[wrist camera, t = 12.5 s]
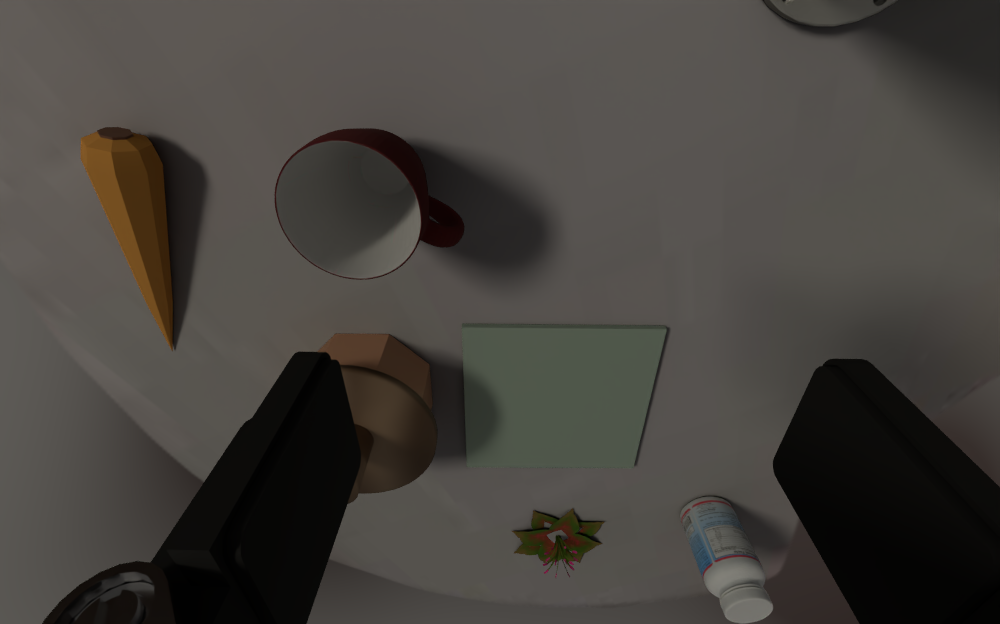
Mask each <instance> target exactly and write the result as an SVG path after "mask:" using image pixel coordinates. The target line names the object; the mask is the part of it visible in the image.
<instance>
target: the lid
mask: <svg viewBox="0 0 1000 624" xmlns="http://www.w3.org/2000/svg"><path fill="white" fill-rule="evenodd" d="M340 367H341V371H342V375H343V379H344V383H345V388H346V392H347V396H348V400H349V404H350V408H351V412H352V417H353V421H354V425H355V429H356V433H357V437H358V442H359V446H360V450H361V464H360V468H359V472H358V475H357V477H356V480H355V483H354V486H353V489H352V492H351V495H350V498H349V501H348V504H349V503H351V502H353V501H354V500H355V499H356V498H357V496H358V493H379V492H385V491H390V490H394V489H397V488H400V487H402V486H404V485H406V484H409V483H410V482H412V481H414V480H415V479H417V478H418V477H419V476H420V475H421V474H423V473H424V471H425V470H426V469H427V468H428V467H429V465H430V463H431V462H432V459H433V457H434V454H435V449H436V443H437V426H436V421H435V418H434V416H433V414H432V412H431V410H430V408H429V406H428V405H427V404H426V402H425V401H424V400H423V399H422V398H421V397H420V396H419V395H418V394H417V393H416V392H415V391H414V390H413V389H412V388H410V387H409V386H408V385H406V384H405V383H403V382H401V381H400V380H398V379H396V378H394V377H392V376H390V375H388V374H385V373H383V372H380V371H377V370H373V369H370V368H366V367H360V366H354V365H340Z"/></svg>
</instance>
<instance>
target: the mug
mask: <svg viewBox="0 0 1000 624" xmlns="http://www.w3.org/2000/svg"><path fill="white" fill-rule="evenodd" d="M275 208H276V213H277V217H278V220H279V223H280V225H281V228H282V230H283V232H284V234H285V235H286V237H287V239H288V240H289V242H290V243H291V244H292V246H293V247H294V248H295V249H296V250H297V251H298V252H299V253H300V254H301V255H302V256H303V257H304V258H305V259H306V260H308V261H309V262H310V263H312V264H313V265H315V266H316V267H318V268H320V269H322V270H324V271H326V272H328V273H330V274H333V275H336V276H339V277H343V278H348V279H360V280H361V279H373V278H378V277H381V276H384V275H387V274H389V273H391V272H393V271H395V270H396V269H398V268H399V267H401V266H402V265H403V264H404V263H405V262H406V261H407V260H408V259H409V258H410V257H411V255H412V254H413V252H414V251H415V249H416V247H417V245H418V243H419V241H420V240H422V241H424V242H426V243H428V244H430V245H433V246H437V247H451V246H454V245H455V244H457V243H458V242H459V241H460V239H461V238H462V236H463V233H464V223H463V221H462V219H461V217H460V216H459V215H458V214H457V213H456V212H455V211H454V210H453V209H452V208H450V207H449V206H447V205H446V204H444V203H442V202H440V201H438V200H437V199H435V198H433V197H431V196H429V195H428V189H427V181H426V175H425V171H424V167H423V165H422V162H421V160H420V158H419V156H418V155H417V153H416V152H415V151H414V149H413V148H412V147H411V146H410V145H409V144H408V143H407V142H406V141H404V140H403V139H402V138H400V137H398V136H397V135H395V134H393V133H390V132H388V131H384V130H379V129H343V130H337V131H333V132H330V133H327V134H325V135H322V136H320V137H318V138H316V139H314V140H313V141H311V142H309V143H308V144H306V145H305V146H303V147H302V148H301V149H299V150H298V151H297V152H295V153H294V154H293V155H292V156H291V157H290V158H289V159H288V161H287V162H286V163H285V165H284V166H283V168H282V170H281V172H280V174H279V176H278V179H277V183H276V187H275ZM429 215H430V216H431V217H432V218H434V219H435V220H436V221H438V222H439V223H440V224H438V223H436V222H434V221H432V220H430V218H429Z"/></svg>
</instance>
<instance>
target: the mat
mask: <svg viewBox="0 0 1000 624" xmlns="http://www.w3.org/2000/svg"><path fill="white" fill-rule="evenodd" d="M666 331H667V329H666V327H665V326H650V325H548V324H462V344H463V373H464V402H465V431H466V460H467V467H515V468H633V467H634V463H635V459H636V455H637V451H638V447H639V442H640V438H641V434H642V430H643V426H644V422H645V418H646V414H647V409H648V405H649V401H650V397H651V393H652V389H653V385H654V380H655V376H656V372H657V368H658V364H659V360H660V356H661V351H662V347H663V343H664V339H665V335H666Z"/></svg>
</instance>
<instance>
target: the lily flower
mask: <svg viewBox="0 0 1000 624" xmlns="http://www.w3.org/2000/svg"><path fill="white" fill-rule="evenodd" d="M573 512H574V511H573V509H571V511H569V512H568V513H567V514H566V515H565V516H563V517H562V518H561V519H559V520H557V519H555V518H552V517H549V516H547V515H544V514H540V513H537V512H535V511H533V519H532V523H531V526H532V528H533V530H534V531H531V532H521V531H520V532H517V531H512V532H514V533H515V534H516V535H517V537H519V538H520V540H521V541H522V542H523V544H522V545H521V546H520V547H519V548H518V549H517V551H515V552H514V553H519V554H525V555H536V554H538V556H539V559H540V560H542V561H544V563H545V564H543V566H545V565H547V564H548V563H550V562H551V561H553V563H554V562H555V565H556V562H557V561H558V562H559V560H561V559H562V561H563V560H564V561H565V562H566V564H568V565H569V563H570V564H572V565H574V564H573V563H572V562H571V561H577V562H579V563H580V560H581V557H582V556H583V553H586V552H588V551H590V550H591V549H593V548H595V546H596V545H600V544H602V543H598V542H595V541H592V540H590V539H589V538H587V537H590V536H592V535H594V534H595V533H596V532H597V531H598V530H599V528H600V526H601V525H600V524H603V523H604V522H595V523H593V522H588V523H586V522H578V521H577V518H576V516H575V515H574V514H573ZM544 521H545V522H547V523H550V524H552V525H551V527H550V528H549V529H550V530H543V528H544ZM579 527H581V528H582V527H584V528H582V530H581V531H579ZM558 530H562V531H563V532H564V533H565V534H566V535H567V536H568V539H566V540H564V541H563V540H562V539H561V537H560V536H559V535H558V536H557V535H556V541H555V543H553V542H552V541H551V540H550V539H549V538H548V537H547V534H550V533H552V532H554V531H558ZM578 531H579V532H578ZM576 532H578V534H574V533H576ZM539 545H541V546H539ZM566 550H567V551H566ZM568 550H570V551H572V553H571V552H570V551H568ZM546 562H548V563H546ZM568 562H569V563H568ZM553 563H552V564H551V566H552V565H553ZM563 563H564V562H563ZM551 566H550V567H551ZM564 566H565V565H564ZM569 567H570V568H571V569H573V570H574V568H573V567H571V566H570V565H569ZM565 568H566V567H565ZM549 569H550V568H549ZM549 569H547V571H546V572H544V573H547V572H548V570H549ZM557 569H558V566H557ZM566 571H567V570H566ZM567 573H568V572H567ZM556 575H557V573H556ZM568 575H569V574H568ZM569 577H570V576H569ZM555 578H556V576H555Z"/></svg>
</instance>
